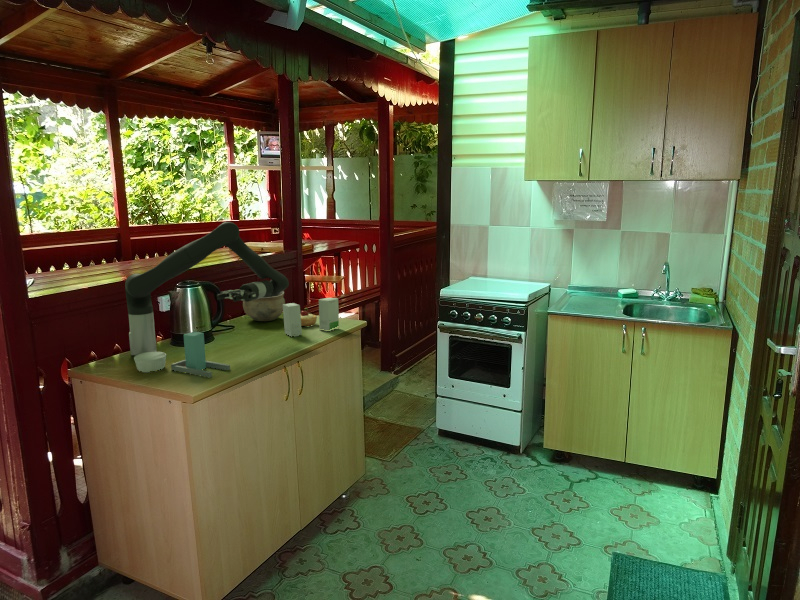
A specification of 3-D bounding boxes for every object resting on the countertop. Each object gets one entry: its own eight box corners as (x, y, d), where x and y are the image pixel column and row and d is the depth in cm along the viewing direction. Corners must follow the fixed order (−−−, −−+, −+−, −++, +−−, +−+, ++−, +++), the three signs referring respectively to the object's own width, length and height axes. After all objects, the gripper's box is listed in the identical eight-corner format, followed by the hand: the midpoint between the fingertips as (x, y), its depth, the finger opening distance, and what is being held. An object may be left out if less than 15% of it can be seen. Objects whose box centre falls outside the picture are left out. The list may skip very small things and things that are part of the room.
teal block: (186, 370, 199) (183, 334, 196) (196, 366, 203) (193, 331, 200) (195, 372, 197) (193, 336, 194) (206, 368, 201) (203, 333, 198)
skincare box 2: (328, 332, 256) (328, 300, 253) (318, 330, 259) (317, 299, 256) (339, 328, 263) (339, 298, 260) (329, 327, 266) (328, 296, 263)
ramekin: (165, 372, 197) (164, 358, 196) (132, 374, 194) (131, 361, 193) (169, 363, 208) (168, 350, 207) (138, 365, 204) (136, 352, 203)
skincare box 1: (302, 335, 249) (301, 305, 246) (290, 337, 246) (289, 306, 243) (295, 332, 256) (294, 302, 253) (283, 333, 253) (282, 303, 250)
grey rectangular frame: (171, 370, 198) (171, 364, 198) (193, 363, 208) (192, 356, 207) (209, 378, 190) (209, 371, 190) (230, 369, 199) (229, 363, 199)
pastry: (288, 327, 266) (288, 310, 264) (299, 322, 277) (299, 305, 275) (310, 329, 263) (309, 311, 261) (320, 323, 274) (320, 306, 272)
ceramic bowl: (294, 318, 286) (293, 291, 283) (268, 326, 266) (267, 297, 264) (261, 314, 295) (260, 288, 292) (234, 322, 275) (232, 294, 272)
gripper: (239, 281, 228) (211, 287, 214) (265, 283, 222) (238, 290, 208) (240, 298, 230) (213, 305, 216) (266, 301, 224) (239, 308, 209)
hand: (225, 298), depth 212 cm, fingers open, 8 cm apart
